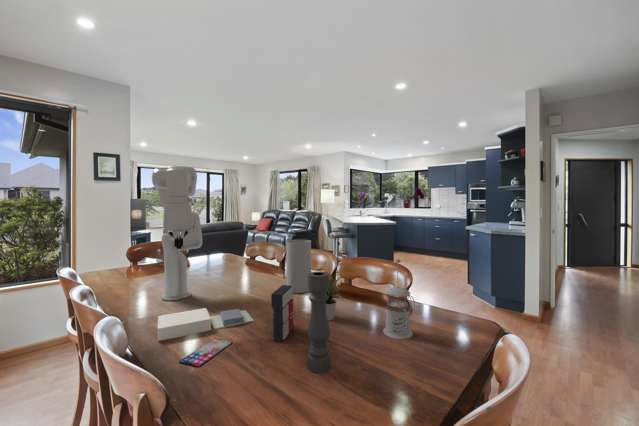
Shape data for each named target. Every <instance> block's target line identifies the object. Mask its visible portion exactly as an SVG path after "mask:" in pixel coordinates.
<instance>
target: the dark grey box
mask: <svg viewBox="0 0 639 426" xmlns="http://www.w3.org/2000/svg"><path fill="white" fill-rule="evenodd" d="M293 294H294V293H293V288H292V286H290V285H287V284H282V285H281V286H280V287H277V289H276V290H275V291H274V292H273V293H271V295H270V296H271V299H270V300H271V307H272V310H273V311H272V312H273V316H272V318H273V323H272V324H273V341H275V342H283V341H284V340H285V339H286V338H287V337H288V335H289V333H290V332H291V330H292V329H293V327H294V299H293V297H294V295H293Z"/></svg>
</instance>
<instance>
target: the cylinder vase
mask: <svg viewBox="0 0 639 426" xmlns="http://www.w3.org/2000/svg"><path fill="white" fill-rule="evenodd" d="M285 243H286V245H285V247H286V250H285V251H286V252H285V253H286V263H285V264H286V285H290V286H292V288H293V294H305V293H308V292H310V290H309V287H308V273H310V272H312V240H310V239H290V240H288V239H287V240H286V241H285Z"/></svg>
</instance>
